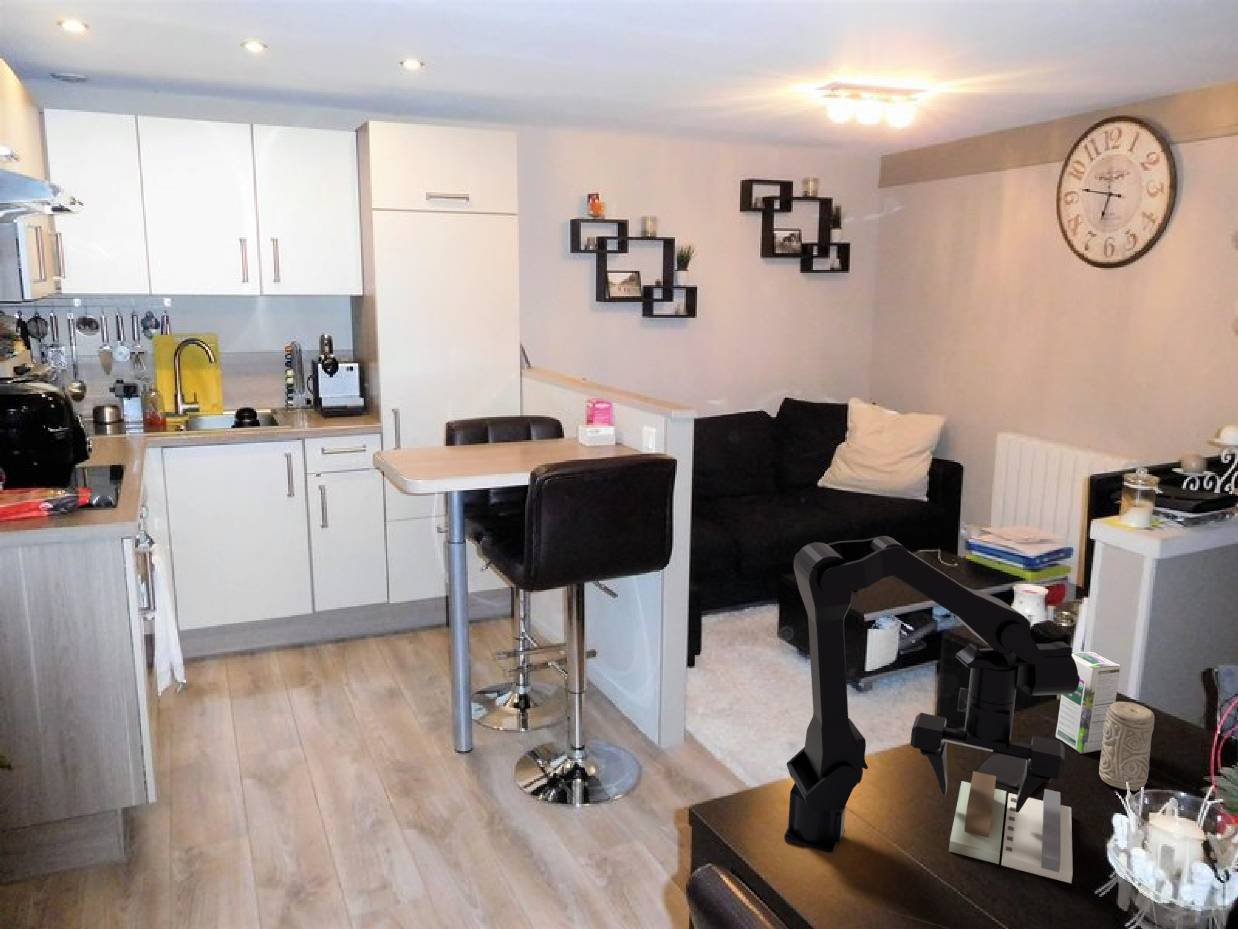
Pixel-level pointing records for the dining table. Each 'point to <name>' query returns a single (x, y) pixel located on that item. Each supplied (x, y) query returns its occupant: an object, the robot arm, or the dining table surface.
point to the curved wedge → (1005, 769)
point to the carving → (1126, 745)
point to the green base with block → (979, 819)
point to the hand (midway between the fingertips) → (980, 802)
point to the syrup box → (1088, 702)
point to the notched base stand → (1039, 837)
